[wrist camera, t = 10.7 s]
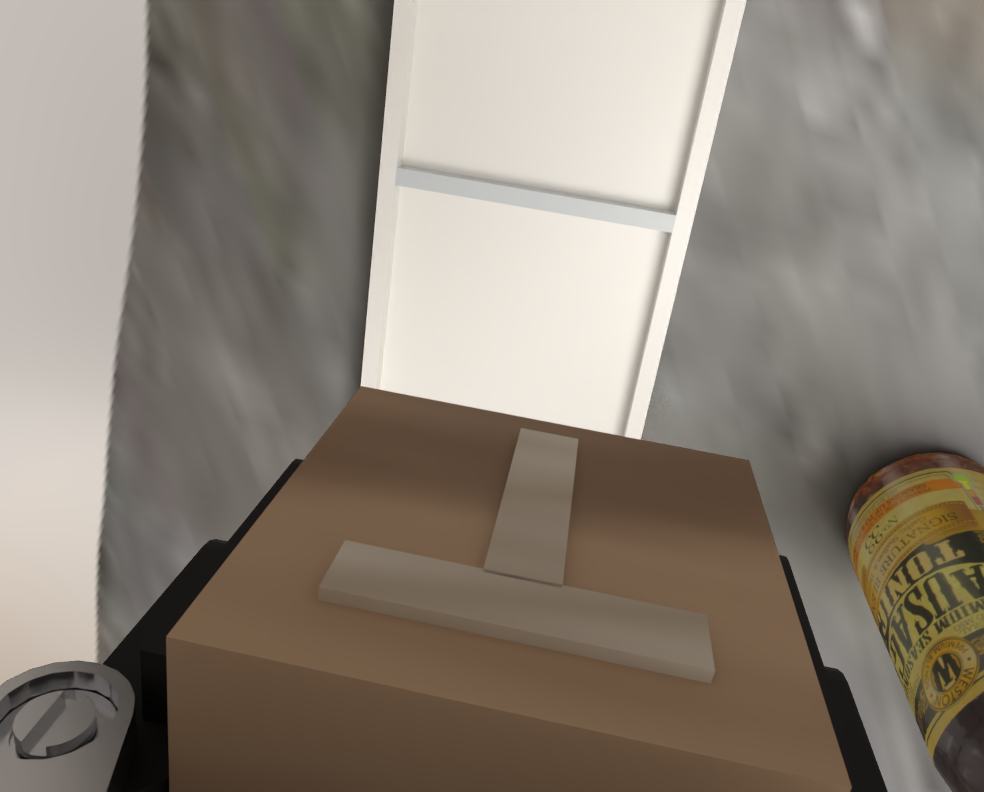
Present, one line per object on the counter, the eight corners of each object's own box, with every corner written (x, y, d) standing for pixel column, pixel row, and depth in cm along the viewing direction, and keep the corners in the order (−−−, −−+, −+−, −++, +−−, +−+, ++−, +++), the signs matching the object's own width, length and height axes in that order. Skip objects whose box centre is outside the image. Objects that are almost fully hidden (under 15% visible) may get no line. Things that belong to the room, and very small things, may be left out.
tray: (423, -186, 26) (411, -201, 24) (773, -138, 25) (782, -150, 24) (366, 433, 35) (355, 449, 33) (624, 484, 34) (625, 503, 32)
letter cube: (362, 376, 11) (156, 634, 6) (752, 450, 10) (863, 789, 6) (335, 681, 13) (167, 1052, 8) (659, 753, 12) (682, 1186, 8)
